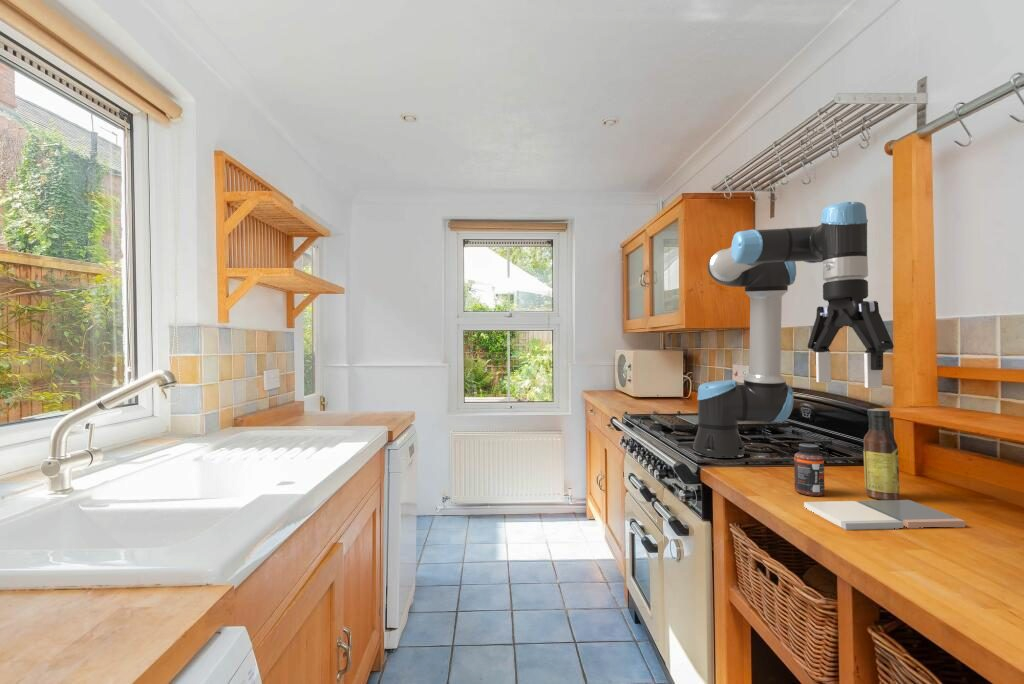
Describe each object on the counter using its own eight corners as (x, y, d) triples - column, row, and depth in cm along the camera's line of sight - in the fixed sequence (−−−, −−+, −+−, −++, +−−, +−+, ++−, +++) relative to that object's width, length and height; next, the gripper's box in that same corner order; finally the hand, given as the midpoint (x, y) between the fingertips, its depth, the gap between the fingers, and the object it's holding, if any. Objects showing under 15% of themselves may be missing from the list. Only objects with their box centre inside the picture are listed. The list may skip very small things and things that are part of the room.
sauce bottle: (906, 502, 103) (904, 412, 103) (874, 501, 104) (872, 411, 104) (889, 493, 109) (887, 408, 109) (858, 492, 110) (857, 407, 111)
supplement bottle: (825, 498, 106) (824, 448, 106) (795, 494, 109) (794, 446, 109) (823, 491, 111) (822, 443, 112) (794, 487, 114) (793, 441, 114)
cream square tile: (804, 507, 101) (804, 501, 101) (854, 506, 101) (854, 500, 101) (845, 529, 88) (845, 523, 88) (903, 528, 89) (902, 522, 89)
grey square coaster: (859, 506, 101) (859, 500, 101) (909, 505, 101) (909, 499, 101) (908, 528, 89) (908, 522, 89) (965, 527, 89) (965, 520, 89)
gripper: (789, 288, 108) (790, 380, 108) (875, 270, 83) (878, 390, 83) (821, 287, 108) (822, 379, 108) (917, 270, 83) (919, 390, 83)
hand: (846, 384), depth 95 cm, fingers open, 13 cm apart
